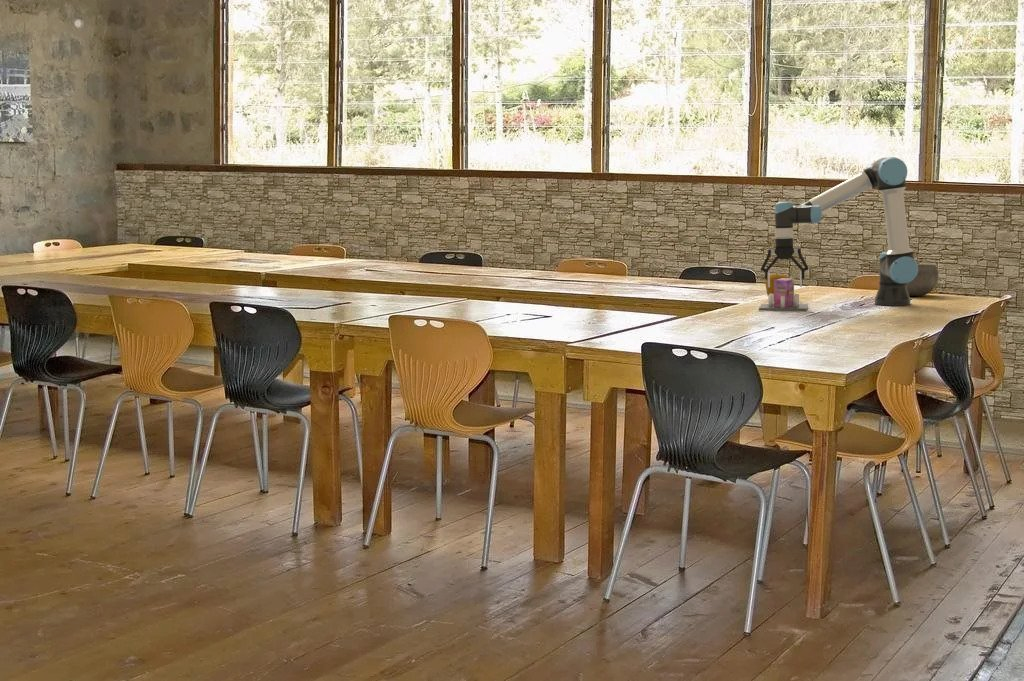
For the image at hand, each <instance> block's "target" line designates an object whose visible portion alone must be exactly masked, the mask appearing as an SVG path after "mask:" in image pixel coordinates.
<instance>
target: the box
mask: <svg viewBox="0 0 1024 681" xmlns="http://www.w3.org/2000/svg"><path fill="white" fill-rule="evenodd" d="M794 295H795V278H789V277H788V278H781V279H777V280H774V307H781V296H785V307H789V306H792V305H794Z"/></svg>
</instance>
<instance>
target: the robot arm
mask: <svg viewBox="0 0 1024 681" xmlns="http://www.w3.org/2000/svg"><path fill="white" fill-rule="evenodd" d="M907 176H908V167H907V164H906V163H905V162H904V161H903V160H902V159H900V158H898V157H895V156H889V157H882V158H879V159H877V160H876V161H873V162H872V163H871V164H870V165H868V166H866V167H865V168H863V169H861V170H860V172H859V173H858V174H856V175H854V176H852V177H851V178H849V179H847V180H845V181H843V182H841V183H839V184H837V185H836V186H833V187H831V188H830V189H827V190H826V191H823V192H822V193H821V194H819V195H817V196H815V197H813V198H811V199H809V200H807V201H805V202H803V203H801V204H797V205H794V204H793V202H792V201H779V202H776V203H775V205H774V206H775V209H774V223H775V224H774V231H775V232H774V233H775V234H774V235H775V236H774V237H775V240H774V241H775V245H774V246H775V248H774V249H770V248H769V249H768V251H767V254H766V258H765V260H764V262H763V263H762V266H761V268H760V271H761V272H763V273H764V279H765V280H768V287H770V275H771V272H770V270H771V268H772V267H773V266H774V265H775V264H776V262H777V261H778V259H779V260H781V261H782V260H789V259H790V260H791V261H792V262H793V263H794V264H795V266H796V267H797V268H798V269H799V270H800V271H799V288H802V287H803V280H805V273H806V272H807V270H809V266H808V264H807V262H806V260H805V258H804V256H803V254H802V251H801V248H797V249H796V248H795V249H794V238H793V237H794V224H818V223H820V222H821V221H822V214H823V213H824V212H826V211H828V210H830V209H832V208H833V207H836V206H838V205H839V204H842V203H843V202H845V201H847V200H849V199H851V198H853V197H855V196H857V195H859V194H860V193H862V192H864V191H867V190H874V189H876V188H877V189H878V190H877V191H878V192H879V193H881V195H882V203H883V204H882V205H883V212H884V220H885V228H886V229H885V230H886V238H887V239H886V240H887V246H888V250H887V251H884V252H881V253H880V254H879V259H878V260H879V266H878V267H879V274H878V276H879V277H878V284H879V286H878V289H877V292H876V294H875V298H874V304H875V305H879V306H908V305H911V297H910V296H909V293H908V290H907V283H908V282H911V281H912V280H913V279H914V278H915V277H916V276H917V273H918V265H917V264H918V263H917V261H916V260H915V254H914V253H915V251H914V249H912V248H911V247H910V242H909V241H910V240H909V232H908V224H907V215H906V206H905V197H904V196H905V195H904V191H905V189H906V188H907V181H906V179H907ZM773 254H775V256H776V257H774V259H773V260H772V261H771V262H770V264H769V265H768V266H767V264H768V262H769V260H770V258H771V255H773ZM794 254H797V255H798V257H799V258H800V261H801V263H802V265H803V266H802V265H801V263H800V262H799V261H798V260H797V259H796V258H795V257H794Z"/></svg>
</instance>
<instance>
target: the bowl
mask: <svg viewBox="0 0 1024 681" xmlns="http://www.w3.org/2000/svg"><path fill="white" fill-rule="evenodd" d="M917 265H918V273H917V276H916V277H915V278H914V279H913V280H912V281H911V282H908V283H907V290H908V293H909V297H910V296H911V297H912V296H914V297H915V296H916V297H920V296H921V297H922V296H926V295H928V294H930V293H931V292H933V290H934V289H935V287H936V286H937V284H938V280H939V271H938V267H937V266H936V265H935V264H921V263H920V264H918V263H917Z"/></svg>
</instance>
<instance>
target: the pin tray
mask: <svg viewBox="0 0 1024 681" xmlns="http://www.w3.org/2000/svg"><path fill="white" fill-rule="evenodd" d="M767 297H768V303H762V304H760V306H759V307H758V311H759V310H770V311H769V312H807V311H808V309H809V304H808V303H807V304H806V303H803V304H800V293H794V305H792V306H789V307H785V296H781V307H774V294H770V295H769V296H768V295H767Z"/></svg>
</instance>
